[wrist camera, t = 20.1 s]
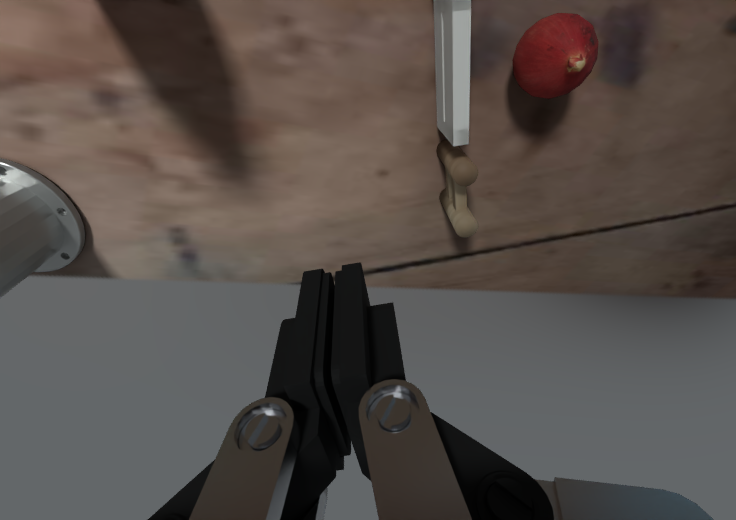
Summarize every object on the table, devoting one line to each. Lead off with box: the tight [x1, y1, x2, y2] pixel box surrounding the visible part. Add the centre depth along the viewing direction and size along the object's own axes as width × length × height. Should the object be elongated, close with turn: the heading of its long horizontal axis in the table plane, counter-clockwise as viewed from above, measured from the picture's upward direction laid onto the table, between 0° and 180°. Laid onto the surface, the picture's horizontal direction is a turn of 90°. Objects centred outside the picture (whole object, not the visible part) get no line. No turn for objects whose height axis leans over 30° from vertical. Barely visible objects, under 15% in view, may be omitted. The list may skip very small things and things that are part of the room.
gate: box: [433, 0, 471, 146], centre depth 29 cm, size 10×1×6 cm, turn 8°
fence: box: [436, 139, 478, 238], centre depth 30 cm, size 2×24×7 cm, turn 9°
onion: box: [513, 13, 598, 99], centre depth 28 cm, size 6×6×8 cm
